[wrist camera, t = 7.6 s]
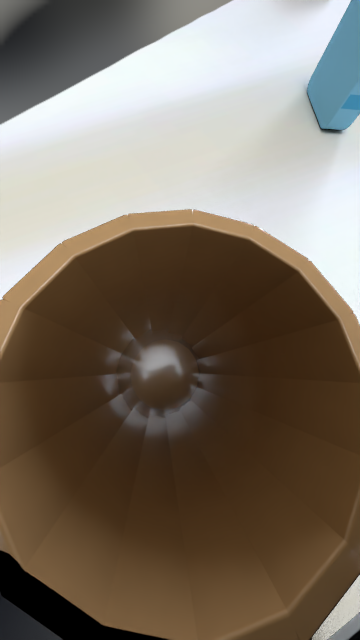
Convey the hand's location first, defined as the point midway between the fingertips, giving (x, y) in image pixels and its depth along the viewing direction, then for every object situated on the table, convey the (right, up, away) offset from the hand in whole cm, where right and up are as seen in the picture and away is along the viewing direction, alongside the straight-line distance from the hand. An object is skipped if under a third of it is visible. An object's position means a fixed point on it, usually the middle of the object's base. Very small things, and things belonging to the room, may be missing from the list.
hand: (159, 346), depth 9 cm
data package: (+28, +41, +27) cm, 56 cm away
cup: (0, -3, +6) cm, 7 cm away
